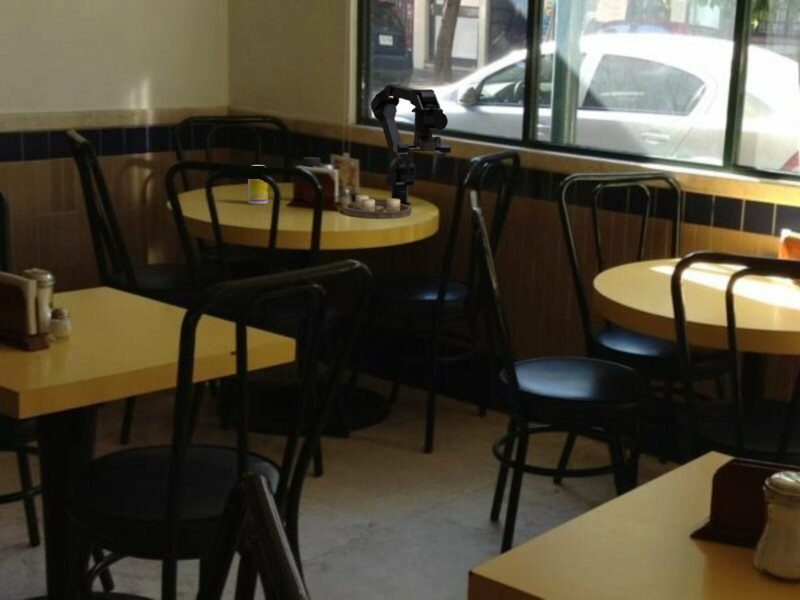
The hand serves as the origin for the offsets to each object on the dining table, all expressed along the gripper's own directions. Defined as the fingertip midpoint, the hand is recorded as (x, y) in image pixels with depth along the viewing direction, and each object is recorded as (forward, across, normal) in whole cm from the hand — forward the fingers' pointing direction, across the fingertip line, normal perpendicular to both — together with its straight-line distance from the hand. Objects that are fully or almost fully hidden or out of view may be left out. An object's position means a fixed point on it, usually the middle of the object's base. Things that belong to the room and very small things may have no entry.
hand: (421, 173), depth 435 cm
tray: (+12, -18, -12) cm, 25 cm away
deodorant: (+12, -34, +18) cm, 40 cm away
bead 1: (+11, -22, -16) cm, 30 cm away
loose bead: (+11, -22, -8) cm, 26 cm away
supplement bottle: (+12, -53, +15) cm, 56 cm away
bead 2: (+11, -14, -16) cm, 24 cm away
